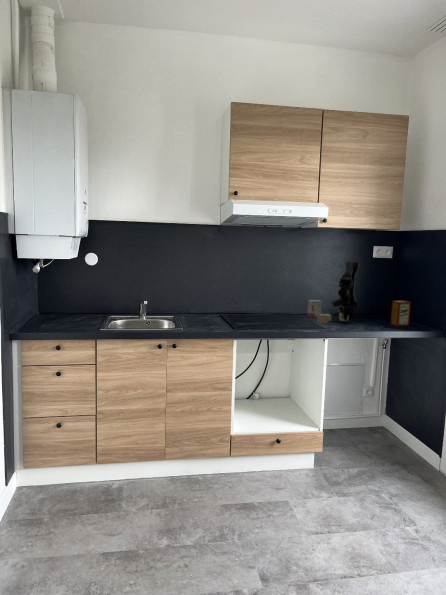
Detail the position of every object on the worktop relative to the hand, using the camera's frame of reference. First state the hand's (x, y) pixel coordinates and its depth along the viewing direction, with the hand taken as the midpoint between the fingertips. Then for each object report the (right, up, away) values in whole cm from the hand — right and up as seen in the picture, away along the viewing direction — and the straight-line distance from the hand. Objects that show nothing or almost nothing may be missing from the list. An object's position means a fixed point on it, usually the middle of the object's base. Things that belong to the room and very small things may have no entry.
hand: (343, 318), depth 302 cm
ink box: (-16, 0, +18) cm, 24 cm away
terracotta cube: (-16, -2, -6) cm, 17 cm away
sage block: (-11, -1, +5) cm, 13 cm away
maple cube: (0, -1, 0) cm, 1 cm away
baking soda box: (+35, -4, -5) cm, 36 cm away
